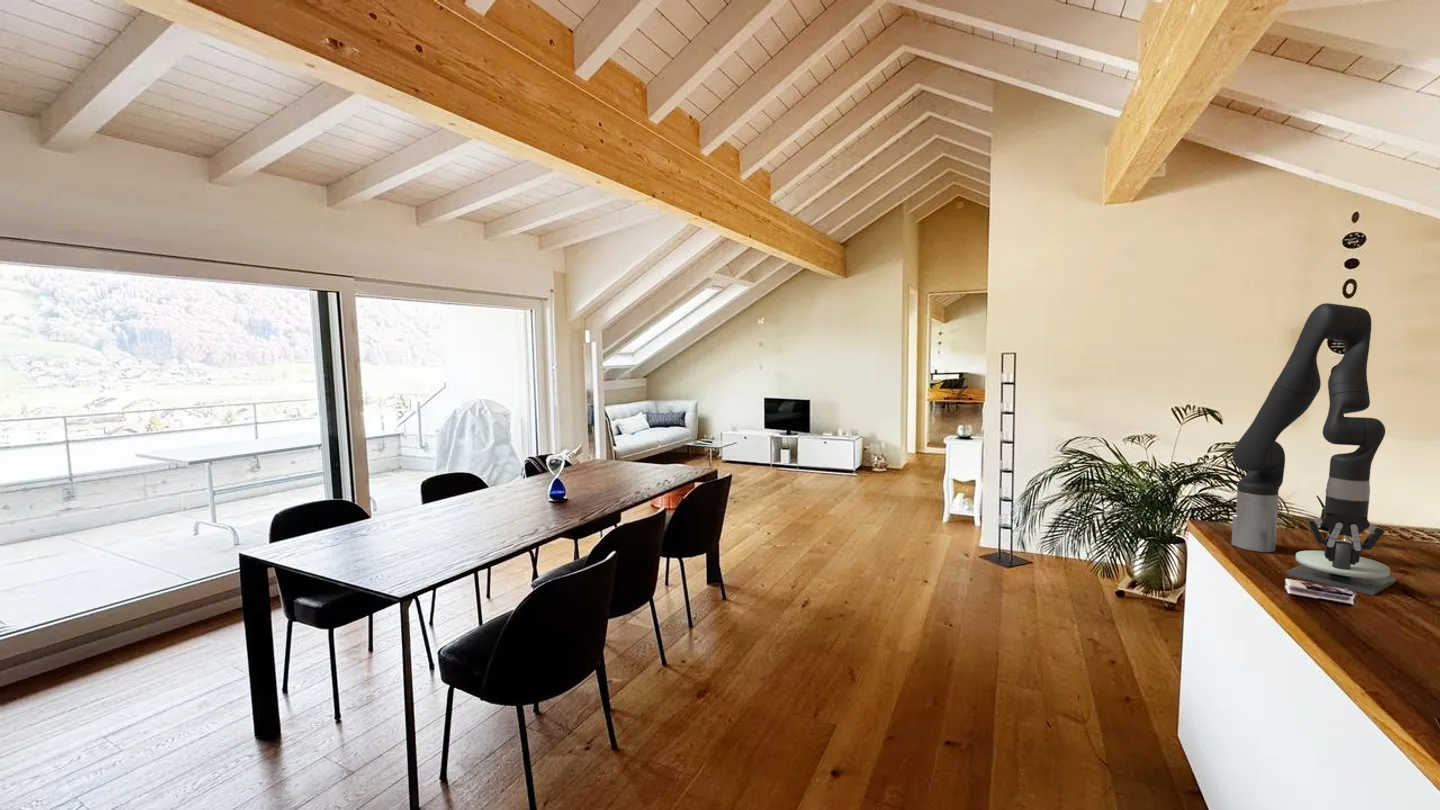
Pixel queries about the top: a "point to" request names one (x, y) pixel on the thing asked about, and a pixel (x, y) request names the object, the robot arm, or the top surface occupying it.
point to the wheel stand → (1342, 580)
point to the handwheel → (1343, 562)
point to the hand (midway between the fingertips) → (1341, 561)
